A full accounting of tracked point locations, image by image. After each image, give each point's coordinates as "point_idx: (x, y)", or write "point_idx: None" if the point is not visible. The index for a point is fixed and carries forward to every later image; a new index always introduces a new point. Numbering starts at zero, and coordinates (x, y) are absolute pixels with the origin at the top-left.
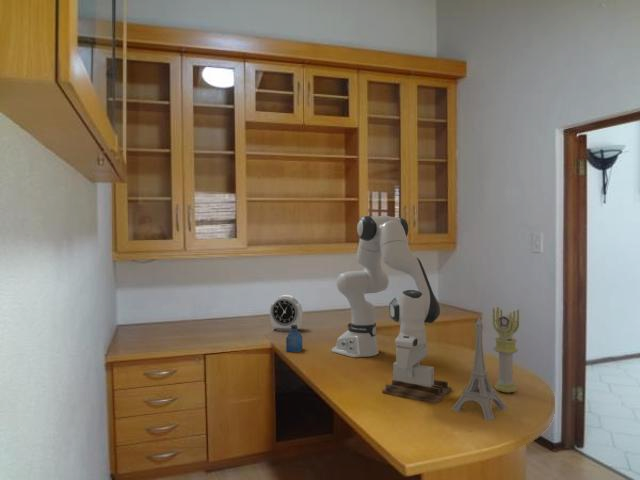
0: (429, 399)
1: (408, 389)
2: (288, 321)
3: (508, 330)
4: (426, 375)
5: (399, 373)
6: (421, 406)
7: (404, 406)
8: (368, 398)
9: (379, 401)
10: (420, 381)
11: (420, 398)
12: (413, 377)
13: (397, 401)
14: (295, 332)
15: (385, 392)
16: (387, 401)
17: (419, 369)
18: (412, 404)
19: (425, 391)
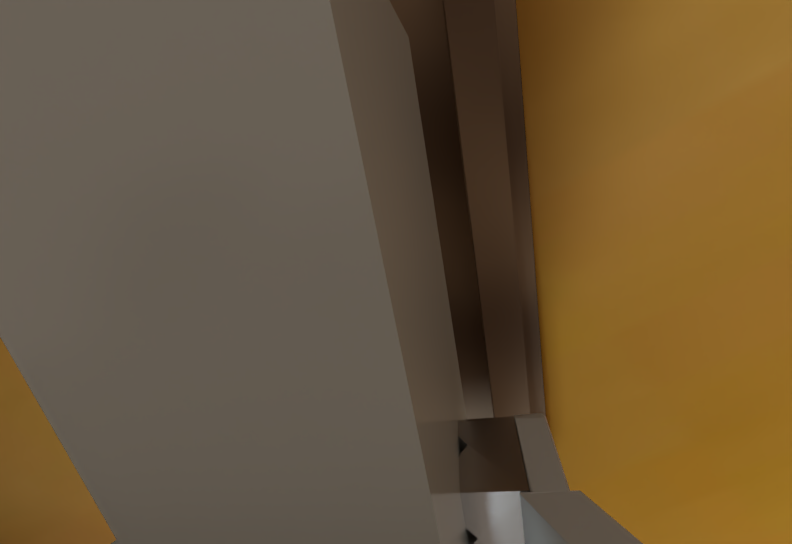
0: (497, 35)
1: (523, 341)
2: None
3: None
4: (403, 141)
5: None
6: (677, 47)
7: (780, 207)
8: (738, 537)
9: (763, 448)
10: (436, 256)
11: (524, 154)
12: (455, 406)
13: (672, 330)
14: None
15: None
16: (724, 398)
17: (436, 436)
18: (671, 169)
19: (460, 124)
